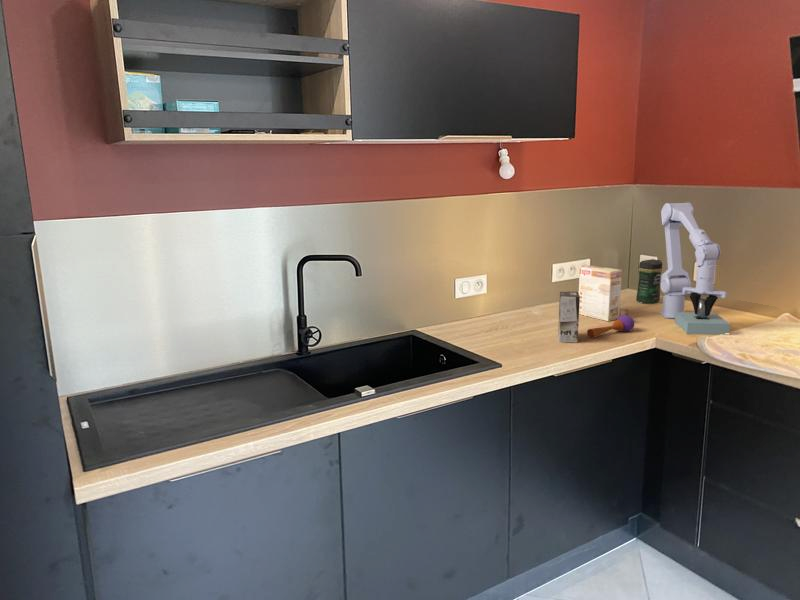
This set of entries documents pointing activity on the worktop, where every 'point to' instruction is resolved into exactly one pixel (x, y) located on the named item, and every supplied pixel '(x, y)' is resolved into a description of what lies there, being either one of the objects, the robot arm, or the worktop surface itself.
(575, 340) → the coffee box
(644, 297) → the coffee jar
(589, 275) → the coffeecake box
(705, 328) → the hole block
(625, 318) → the kendama
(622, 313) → the short pin
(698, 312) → the long pin
